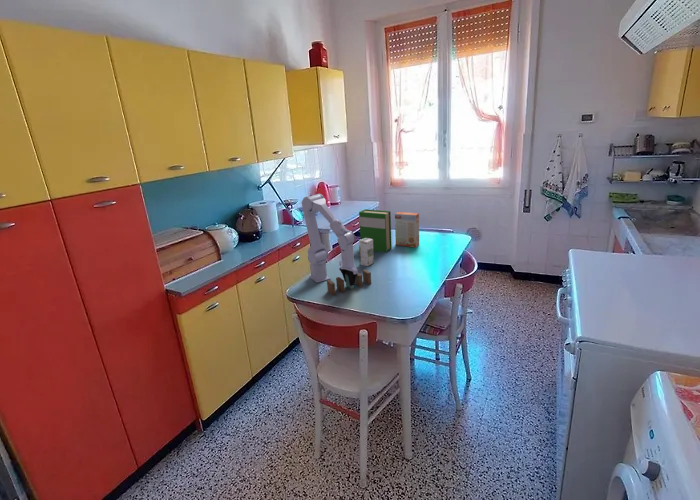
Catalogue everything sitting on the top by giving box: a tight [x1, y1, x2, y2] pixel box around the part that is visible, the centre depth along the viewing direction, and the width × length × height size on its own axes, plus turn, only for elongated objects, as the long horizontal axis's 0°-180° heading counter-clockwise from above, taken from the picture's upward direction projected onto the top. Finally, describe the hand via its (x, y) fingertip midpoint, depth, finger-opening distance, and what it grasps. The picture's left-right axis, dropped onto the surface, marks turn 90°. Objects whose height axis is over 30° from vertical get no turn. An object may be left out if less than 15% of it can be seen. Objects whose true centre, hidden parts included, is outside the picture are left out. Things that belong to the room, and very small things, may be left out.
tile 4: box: [362, 269, 372, 285], centre depth 182 cm, size 2×5×6 cm, turn 29°
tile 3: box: [354, 272, 364, 288], centre depth 179 cm, size 2×5×6 cm, turn 29°
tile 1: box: [326, 279, 337, 297], centre depth 173 cm, size 2×5×6 cm, turn 29°
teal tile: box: [345, 274, 355, 289], centre depth 177 cm, size 2×5×6 cm, turn 29°
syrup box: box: [358, 238, 375, 267], centre depth 203 cm, size 6×6×14 cm
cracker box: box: [394, 211, 420, 248], centre depth 228 cm, size 14×6×21 cm, turn 58°
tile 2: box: [335, 277, 346, 294], centre depth 175 cm, size 2×5×6 cm, turn 29°
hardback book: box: [358, 208, 393, 253], centre depth 225 cm, size 18×7×24 cm, turn 58°
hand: (349, 283), depth 177 cm, fingers closed on teal tile, 5 cm apart
